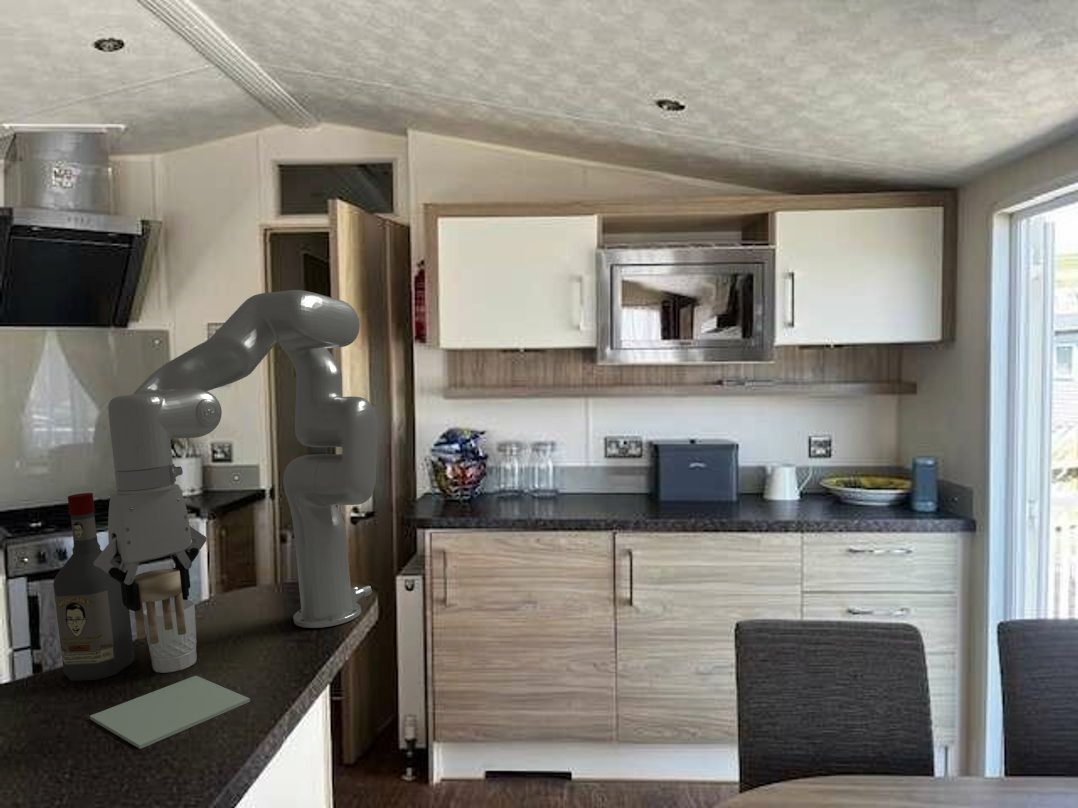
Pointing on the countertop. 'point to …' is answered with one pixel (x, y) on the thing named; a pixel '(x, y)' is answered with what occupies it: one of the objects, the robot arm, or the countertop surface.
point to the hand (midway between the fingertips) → (158, 601)
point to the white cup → (173, 640)
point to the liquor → (90, 605)
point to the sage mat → (168, 711)
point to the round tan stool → (156, 589)
